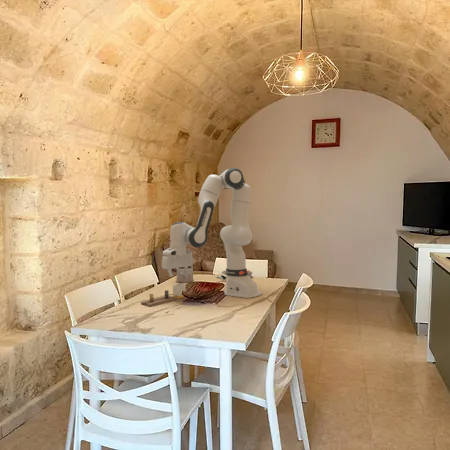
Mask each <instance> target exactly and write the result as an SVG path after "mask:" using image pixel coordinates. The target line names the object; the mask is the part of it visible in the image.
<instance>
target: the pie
mask: <svg viewBox="0 0 450 450" xmlns="http://www.w3.org/2000/svg"><path fill="white" fill-rule="evenodd" d="M247 271H248V270H247ZM248 275H249V276H250V278H252V275H253V271H250V270H249V271H248ZM220 276H221V277H220ZM224 277H225V278H224ZM216 278H217V279H220V280H224V281H226V279H227V275H226V270H222V272H221V273H220V275H218V276H217V277H216Z"/></svg>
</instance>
